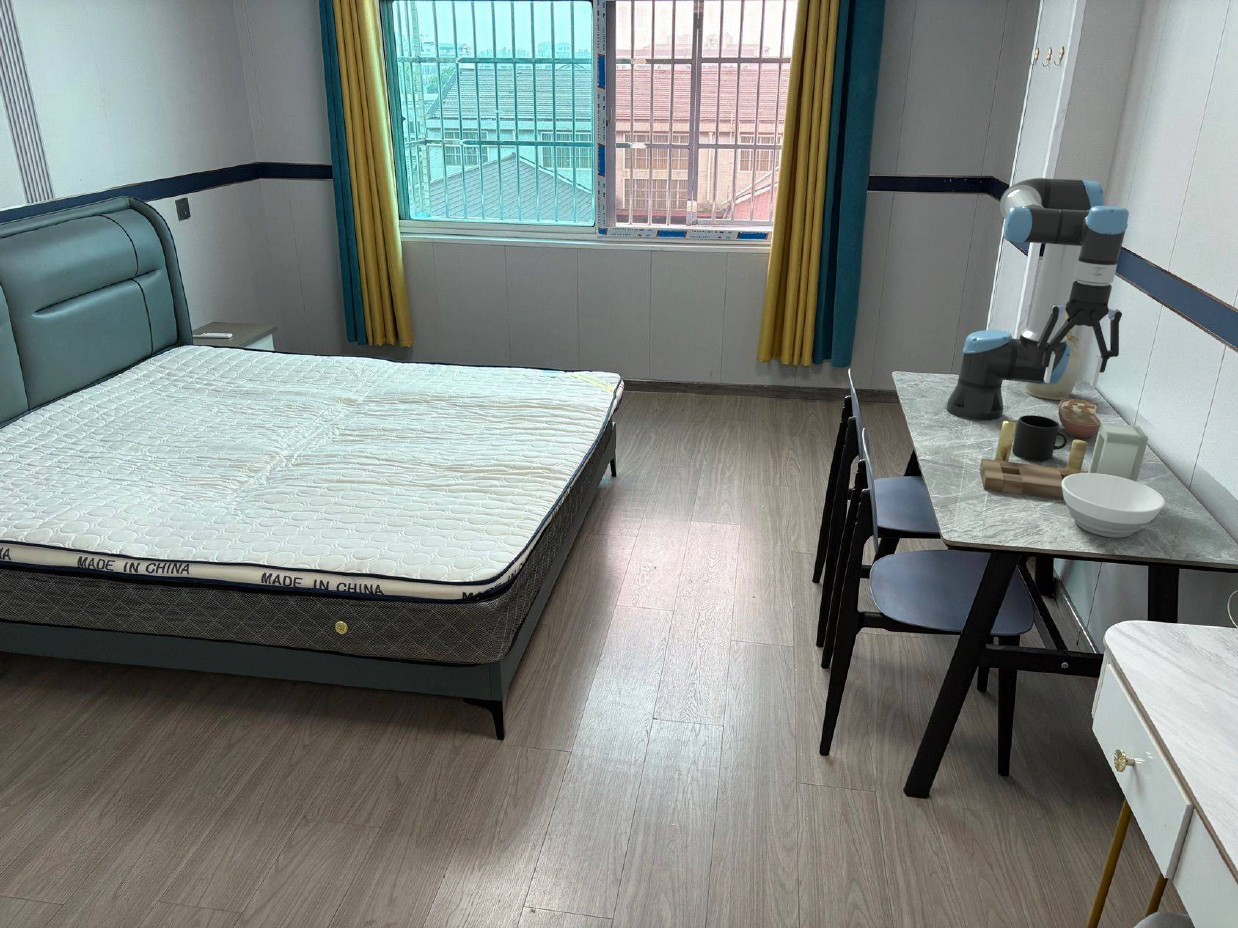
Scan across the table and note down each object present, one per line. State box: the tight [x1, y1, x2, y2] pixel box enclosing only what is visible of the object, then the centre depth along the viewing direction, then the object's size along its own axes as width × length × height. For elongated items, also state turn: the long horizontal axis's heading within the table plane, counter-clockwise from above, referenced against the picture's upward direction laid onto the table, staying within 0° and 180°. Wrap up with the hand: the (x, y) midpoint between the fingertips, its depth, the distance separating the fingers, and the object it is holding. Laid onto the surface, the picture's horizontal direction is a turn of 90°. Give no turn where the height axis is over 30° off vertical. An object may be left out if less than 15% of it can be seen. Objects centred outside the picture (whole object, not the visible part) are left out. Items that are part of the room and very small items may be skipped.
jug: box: [1024, 313, 1083, 401], centre depth 270 cm, size 15×16×25 cm
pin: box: [994, 419, 1017, 462], centre depth 217 cm, size 3×3×12 cm
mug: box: [1011, 414, 1068, 462], centre depth 226 cm, size 9×12×9 cm
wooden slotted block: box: [979, 439, 1089, 501], centre depth 207 cm, size 12×30×12 cm, turn 74°
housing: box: [1087, 421, 1149, 482], centre depth 203 cm, size 8×8×13 cm
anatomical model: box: [1058, 398, 1102, 439], centre depth 247 cm, size 23×10×5 cm, turn 158°
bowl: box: [1062, 473, 1166, 539], centre depth 190 cm, size 20×19×8 cm
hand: (1069, 383), depth 200 cm, fingers open, 9 cm apart
